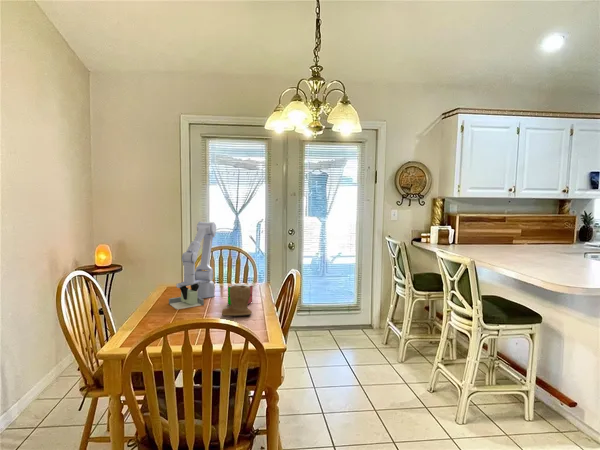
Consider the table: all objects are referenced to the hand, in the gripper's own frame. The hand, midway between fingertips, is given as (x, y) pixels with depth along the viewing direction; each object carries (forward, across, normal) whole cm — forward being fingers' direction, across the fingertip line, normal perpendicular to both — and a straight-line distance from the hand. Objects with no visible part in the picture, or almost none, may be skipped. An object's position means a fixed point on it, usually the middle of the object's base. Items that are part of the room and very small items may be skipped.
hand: (189, 298), depth 212 cm
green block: (+2, 0, 0) cm, 2 cm away
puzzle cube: (+4, -22, +17) cm, 28 cm away
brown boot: (+4, -8, +31) cm, 32 cm away
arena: (+3, +1, -1) cm, 4 cm away
